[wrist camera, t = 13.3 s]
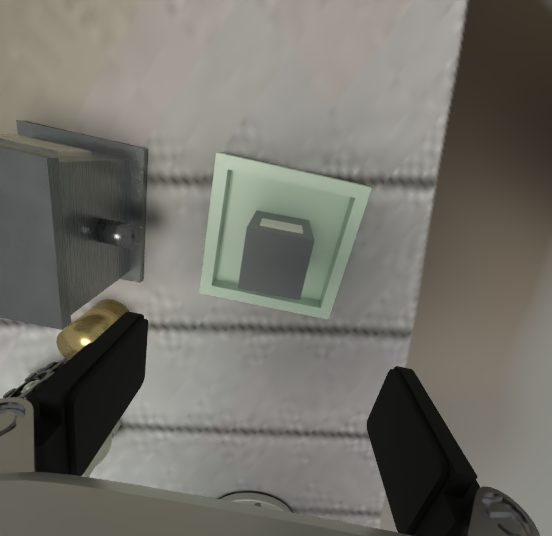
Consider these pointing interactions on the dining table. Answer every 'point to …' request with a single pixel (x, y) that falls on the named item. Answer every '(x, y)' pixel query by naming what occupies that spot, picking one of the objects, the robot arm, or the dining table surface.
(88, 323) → the cylinder
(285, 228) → the block
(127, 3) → the dining table surface
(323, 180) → the tray
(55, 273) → the box
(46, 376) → the valve
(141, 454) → the dining table surface
